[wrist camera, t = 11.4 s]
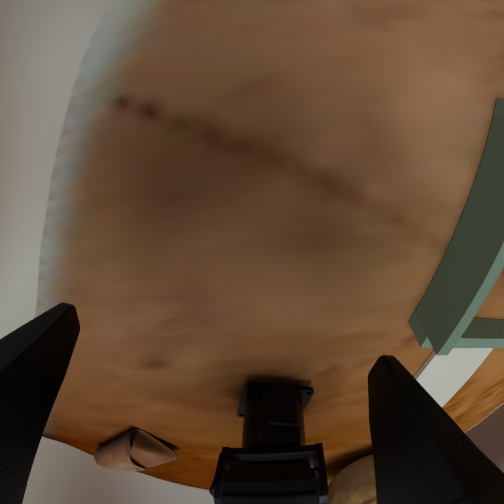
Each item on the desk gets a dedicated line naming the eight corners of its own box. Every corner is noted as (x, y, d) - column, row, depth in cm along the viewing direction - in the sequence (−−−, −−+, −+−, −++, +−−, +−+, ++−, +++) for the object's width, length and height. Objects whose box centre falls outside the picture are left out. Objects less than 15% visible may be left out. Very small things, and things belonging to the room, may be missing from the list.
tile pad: (429, 415, 33) (430, 418, 32) (376, 420, 32) (377, 423, 32) (494, 340, 25) (496, 344, 25) (441, 339, 25) (443, 343, 24)
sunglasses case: (135, 470, 43) (109, 484, 38) (115, 440, 46) (88, 452, 40) (181, 456, 36) (149, 476, 31) (155, 417, 38) (120, 434, 33)
